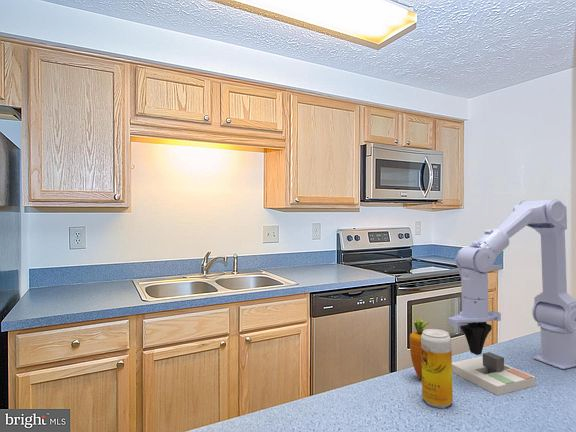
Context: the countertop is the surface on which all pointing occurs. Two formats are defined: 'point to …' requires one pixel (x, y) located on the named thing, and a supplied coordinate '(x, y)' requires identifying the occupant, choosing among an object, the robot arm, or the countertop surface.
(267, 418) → the countertop surface
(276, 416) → the countertop surface
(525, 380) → the switch board
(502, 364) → the switch handle
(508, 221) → the robot arm
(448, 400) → the beer can
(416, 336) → the carrot
